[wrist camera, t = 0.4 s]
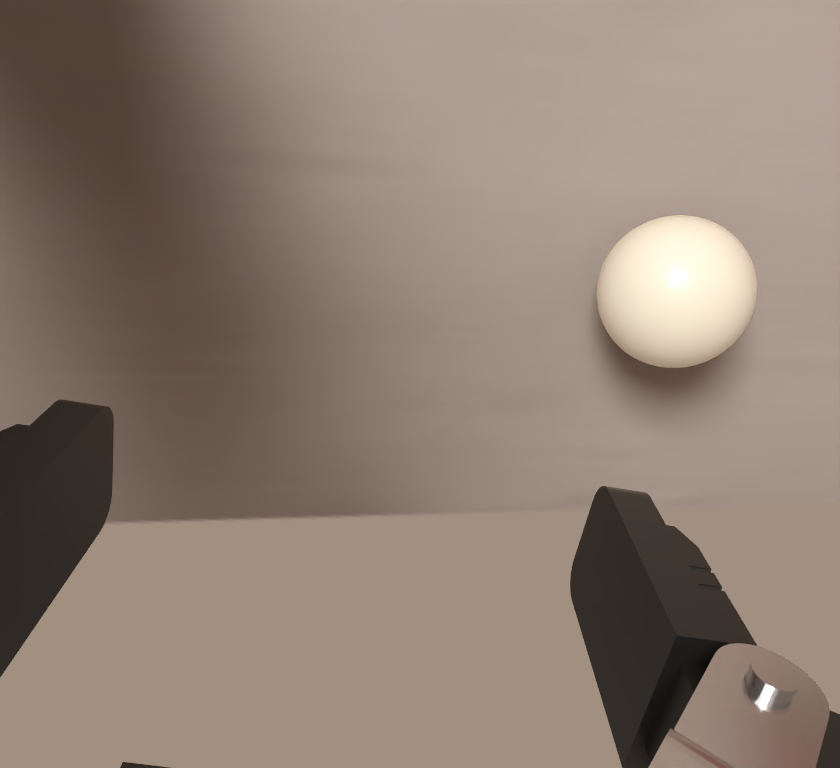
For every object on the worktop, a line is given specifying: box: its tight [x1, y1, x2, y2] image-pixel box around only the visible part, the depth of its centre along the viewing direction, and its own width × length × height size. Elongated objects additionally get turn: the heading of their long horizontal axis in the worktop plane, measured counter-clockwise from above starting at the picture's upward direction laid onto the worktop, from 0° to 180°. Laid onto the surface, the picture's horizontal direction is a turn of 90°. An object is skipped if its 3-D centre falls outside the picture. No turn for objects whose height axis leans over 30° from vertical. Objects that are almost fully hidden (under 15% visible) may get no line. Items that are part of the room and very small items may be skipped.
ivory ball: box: [597, 215, 757, 368], centre depth 27 cm, size 6×6×6 cm
